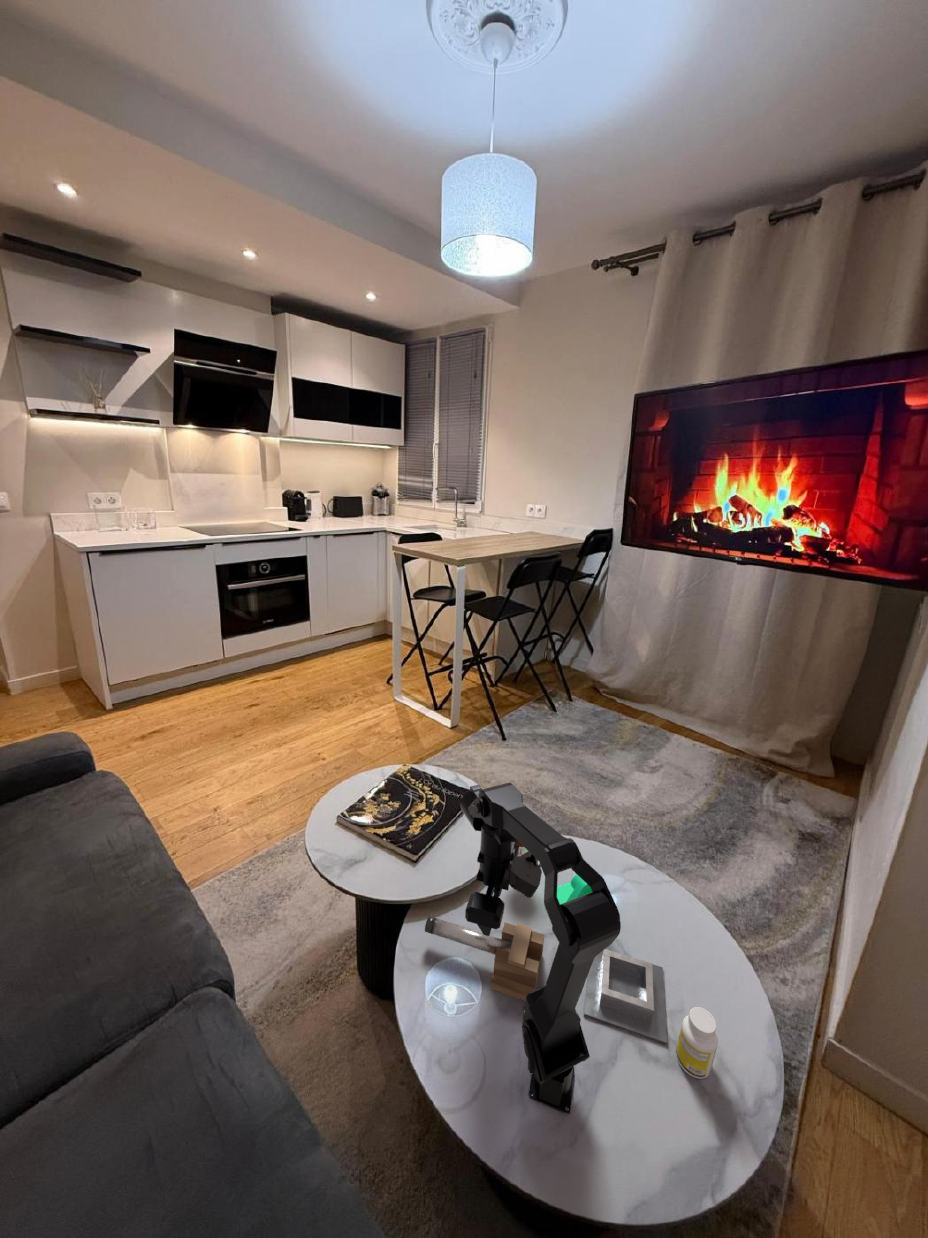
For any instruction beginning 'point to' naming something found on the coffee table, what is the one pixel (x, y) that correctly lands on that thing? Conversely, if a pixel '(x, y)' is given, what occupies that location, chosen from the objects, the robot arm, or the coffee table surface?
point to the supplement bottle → (697, 1043)
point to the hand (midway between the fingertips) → (492, 914)
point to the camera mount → (572, 890)
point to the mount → (518, 961)
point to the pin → (465, 936)
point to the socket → (627, 995)
